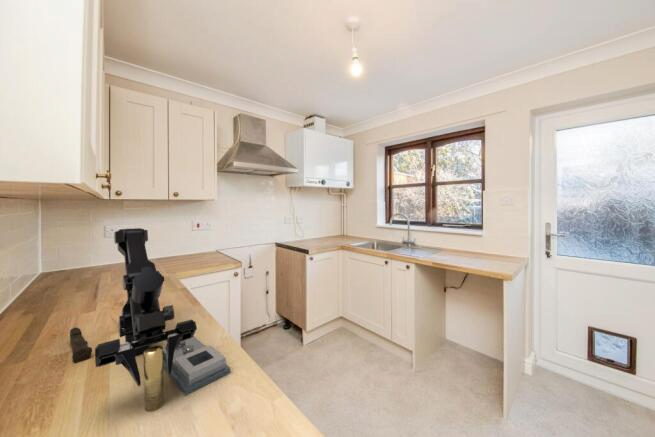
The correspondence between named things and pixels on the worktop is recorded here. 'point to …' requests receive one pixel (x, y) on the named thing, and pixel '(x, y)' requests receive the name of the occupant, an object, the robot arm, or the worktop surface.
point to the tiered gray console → (195, 365)
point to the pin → (153, 378)
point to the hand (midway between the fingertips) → (154, 379)
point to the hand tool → (79, 346)
